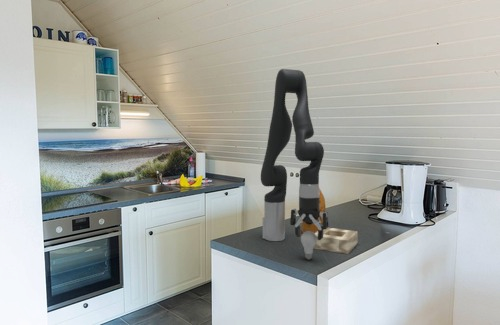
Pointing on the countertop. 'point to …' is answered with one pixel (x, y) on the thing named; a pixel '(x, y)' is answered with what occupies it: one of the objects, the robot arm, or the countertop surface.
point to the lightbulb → (308, 243)
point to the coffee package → (311, 226)
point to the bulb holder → (337, 240)
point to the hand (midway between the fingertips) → (309, 238)
